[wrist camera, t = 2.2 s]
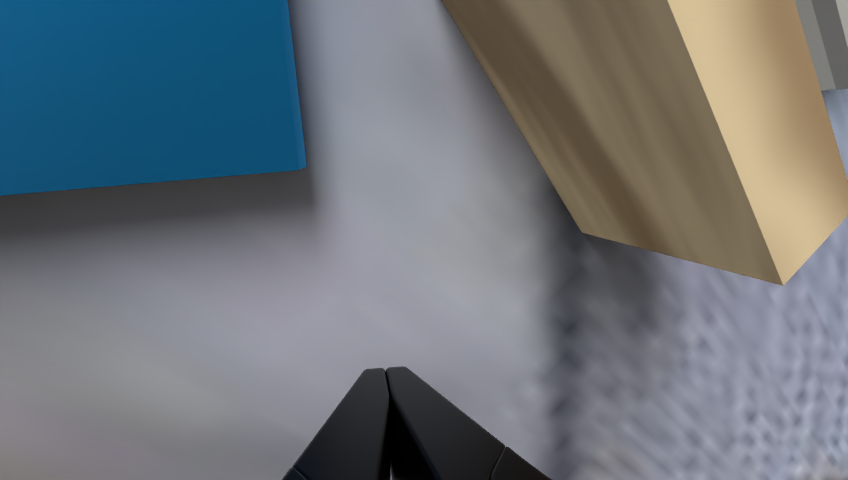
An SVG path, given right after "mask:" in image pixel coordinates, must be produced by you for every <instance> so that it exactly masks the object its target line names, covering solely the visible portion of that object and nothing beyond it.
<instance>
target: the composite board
mask: <svg viewBox="0 0 848 480" xmlns="http://www.w3.org/2000/svg"><path fill="white" fill-rule="evenodd" d="M794 1H795V4H796V8H797V11H798V14H799V18H800V21H801V25H802V28H803V31H804V35H805V38H806V42H807V45H808V48H809V52H810V55H811V58H812V62H813V65H814V69H815V72H816V75H817V79H818V82H819V86H820V89H821V91H824V90H835V89H847V88H848V0H794Z"/></svg>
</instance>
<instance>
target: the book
mask: <svg viewBox="0 0 848 480" xmlns="http://www.w3.org/2000/svg"><path fill="white" fill-rule="evenodd" d="M305 167H307V164H306V156H305V147H304V138H303V130H302V121H301V112H300V104H299V95H298V86H297V78H296V69H295V60H294V52H293V43H292V34H291V26H290V17H289V8H288V0H0V196H1V195H13V194H24V193H36V192H48V191H60V190H71V189H83V188H95V187H107V186H118V185H130V184H142V183H154V182H165V181H177V180H189V179H201V178H212V177H224V176H236V175H247V174H259V173H271V172H283V171H294V170H299V169H301V168H305Z"/></svg>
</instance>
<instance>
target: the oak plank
mask: <svg viewBox="0 0 848 480" xmlns="http://www.w3.org/2000/svg"><path fill="white" fill-rule="evenodd" d="M442 2H443V4H444V5H445V7H446V9H447V10H448V12H449V14H450V15H451V17H452V19H453V20H454V22H455V24H456V25H457V27H458V28H459V30H460V32H461V33H462V35H463V37H464V38H465V40H466V42H467V43H468V45H469V47H470V48H471V50H472V52H473V53H474V55H475V57H476V58H477V60H478V62H479V63H480V65H481V67H482V68H483V70H484V72H485V73H486V75H487V76H488V78H489V80H490V81H491V83H492V85H493V86H494V88H495V90H496V91H497V93H498V95H499V96H500V98H501V100H502V101H503V103H504V105H505V106H506V108H507V110H508V111H509V113H510V115H511V116H512V118H513V120H514V121H515V123H516V124H517V126H518V128H519V129H520V131H521V133H522V134H523V136H524V138H525V139H526V141H527V143H528V144H529V146H530V148H531V149H532V151H533V153H534V154H535V156H536V158H537V159H538V161H539V163H540V164H541V166H542V168H543V169H544V171H545V172H546V174H547V176H548V177H549V179H550V181H551V182H552V184H553V186H554V187H555V189H556V191H557V192H558V194H559V196H560V197H561V199H562V201H563V202H564V204H565V206H566V207H567V209H568V211H569V212H570V214H571V216H572V217H573V219H574V221H575V222H576V224H577V225H578V227H579V229H580V230H581V232H582V233H585V234H589V235H593V236H597V237H601V238H604V239H608V240H612V241H616V242H620V243H623V244H627V245H631V246H635V247H639V248H642V249H646V250H650V251H654V252H658V253H661V254H665V255H669V256H673V257H677V258H680V259H684V260H688V261H692V262H695V263H699V264H703V265H707V266H711V267H714V268H718V269H722V270H726V271H730V272H733V273H737V274H741V275H745V276H749V277H752V278H756V279H760V280H764V281H768V282H771V283H775V284H779V285H784V284H785V283H786V282H787V281H788V280H789V279H790V278H791V277H792V276H793V275H794V273H795V272H796V271H797V270H798V269H799V268H800V267H801V266H802V265H803V264H804V263H805V261H806V260H807V259H808V258H809V257H810V256H811V255H812V254H813V253H814V252H815V251H816V249H817V248H818V247H819V246H820V245H821V244H822V243H823V242H824V241H825V240H826V239H827V237H828V236H829V235H830V234H831V233H832V232H833V231H834V230H835V229H836V228H837V227H838V225H839V224H840V223H841V222H842V221H843V220H844V219H845V218H846V217H847V216H848V181H847V177H846V174H845V170H844V167H843V164H842V160H841V157H840V153H839V150H838V147H837V143H836V140H835V137H834V133H833V130H832V126H831V123H830V120H829V116H828V113H827V109H826V106H825V103H824V99H823V96H822V92H821V89H820V86H819V82H818V79H817V75H816V72H815V69H814V65H813V62H812V58H811V55H810V52H809V48H808V45H807V42H806V38H805V35H804V31H803V28H802V25H801V21H800V18H799V14H798V11H797V8H796V4H795V1H794V0H442Z"/></svg>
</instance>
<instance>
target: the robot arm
mask: <svg viewBox="0 0 848 480" xmlns="http://www.w3.org/2000/svg"><path fill="white" fill-rule="evenodd" d="M390 466H391V472H390ZM391 475H392V480H552V479H550V478H549V477H547V476H546V475H544V474H543V473H542V472H540V471H539V470H538V469H536V468H535V467H533V466H532V465H531V464H529V463H528V462H527V461H525V460H524V459H523V458H521V457H520V456H519V455H518V454H516V453H515V452H514V451H513V450H511V449H510V448H509V447H505V445H504V444H503V443H501V442H500V441H499V440H498V439H496V438H495V437H494V436H493V435H491V434H490V433H489V432H487V431H486V430H485V429H484V428H482V427H481V426H480V425H479V424H477V423H476V422H475V421H474V420H472V419H471V418H470V417H469V416H467V415H466V414H465V413H463V412H462V411H461V410H460V409H458V408H457V407H456V406H455V405H453V404H452V403H451V402H450V401H448V400H447V399H446V398H445V397H443V396H442V395H441V394H440V393H438V392H437V391H436V390H434V389H433V388H432V387H431V386H429V385H428V384H427V383H426V382H424V381H423V380H422V379H421V378H419V377H418V376H417V375H416V374H414V373H413V372H412V371H410V370H409V369H408V368H406V367H389V368H387V369H386V372H385V370H384V369H383V368H375V369H366V370H364V371H363V373H362V374H361V375H360V377H359V378H358V379H357V381H356V382H355V383H354V385H353V386H352V387H351V389H350V390H349V391H348V393H347V394H346V395H345V397H344V398H343V399H342V401H341V402H340V403H339V405H338V406H337V407H336V409H335V410H334V412H333V413H332V414H331V416H330V417H329V418H328V420H327V421H326V422H325V424H324V425H323V426H322V428H321V429H320V430H319V432H318V433H317V434H316V436H315V437H314V438H313V440H312V441H311V442H310V444H309V445H308V446H307V448H306V449H305V450H304V452H303V453H302V454H301V456H300V457H299V458H298V460H297V461H296V462H295V464H294V465H293V467H292V468H290V469H289V471H288V472H287V473H286V475H285V476H284V477H283V479H282V480H390V476H391Z"/></svg>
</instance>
